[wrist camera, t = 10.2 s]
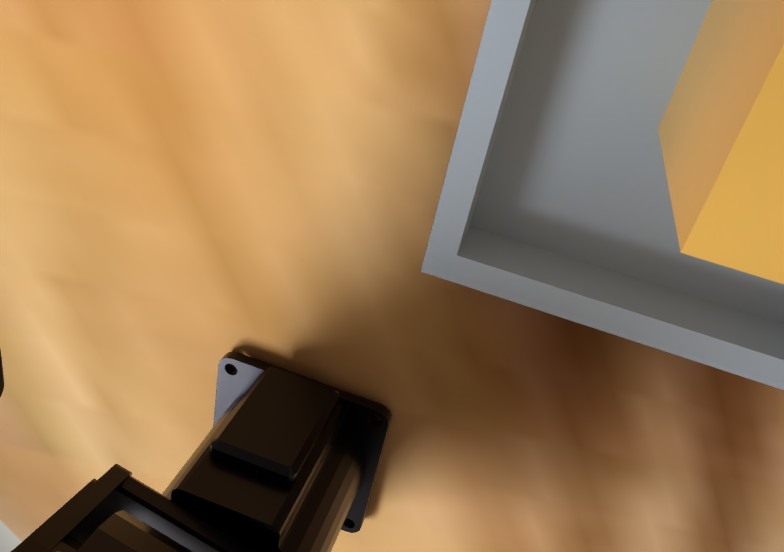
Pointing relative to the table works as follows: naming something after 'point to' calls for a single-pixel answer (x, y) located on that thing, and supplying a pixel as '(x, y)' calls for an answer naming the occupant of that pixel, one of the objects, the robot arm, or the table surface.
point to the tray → (592, 185)
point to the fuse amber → (730, 140)
